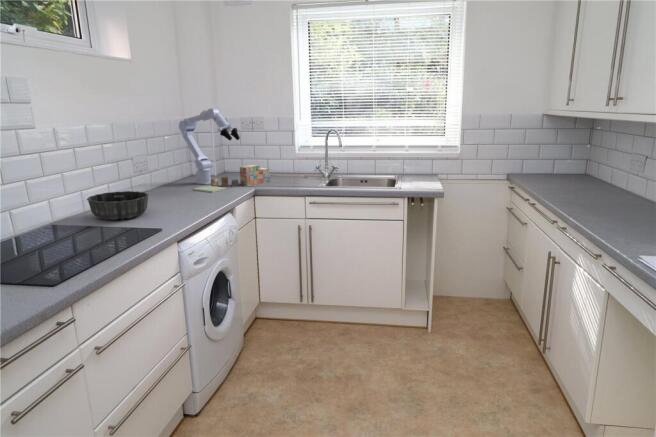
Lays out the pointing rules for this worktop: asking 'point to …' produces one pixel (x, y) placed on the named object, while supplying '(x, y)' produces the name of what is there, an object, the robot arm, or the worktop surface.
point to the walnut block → (224, 181)
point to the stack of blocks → (253, 175)
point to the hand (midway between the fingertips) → (234, 139)
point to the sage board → (209, 188)
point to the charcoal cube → (234, 182)
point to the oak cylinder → (214, 182)
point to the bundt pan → (118, 204)
